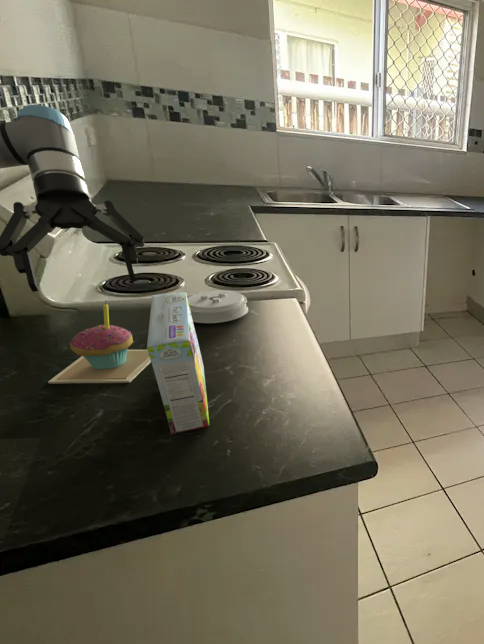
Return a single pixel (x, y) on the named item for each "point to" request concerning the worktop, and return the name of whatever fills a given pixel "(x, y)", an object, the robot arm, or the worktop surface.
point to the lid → (217, 306)
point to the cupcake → (103, 344)
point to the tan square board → (104, 370)
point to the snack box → (177, 362)
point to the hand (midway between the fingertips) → (85, 283)
